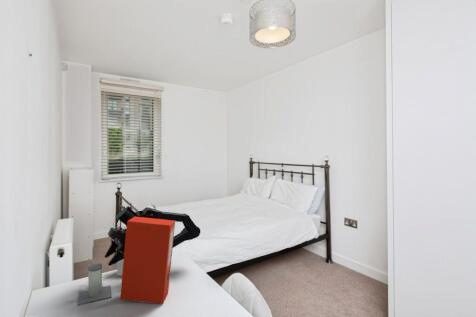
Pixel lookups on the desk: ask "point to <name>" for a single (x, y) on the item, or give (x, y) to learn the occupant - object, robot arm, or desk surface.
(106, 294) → the charcoal pad
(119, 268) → the medicine bottle
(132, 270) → the file binder
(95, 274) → the tin canister
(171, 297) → the desk surface
